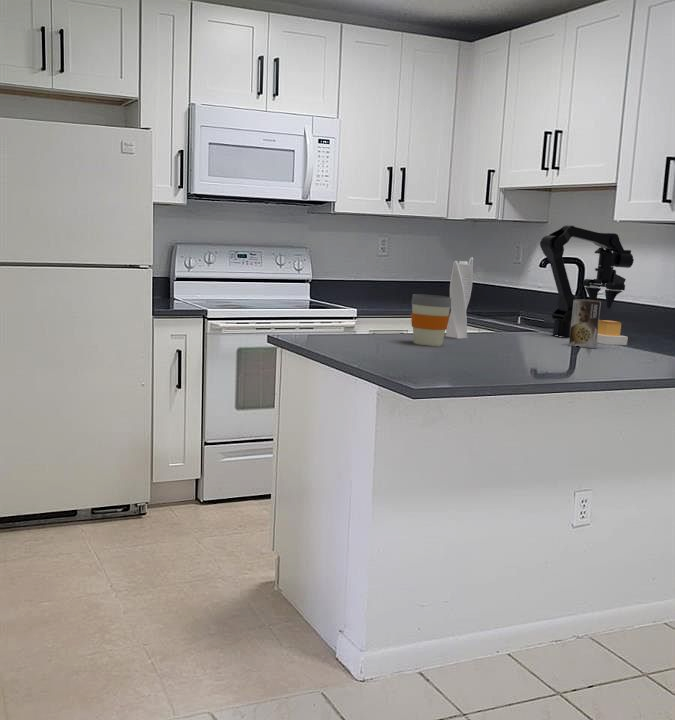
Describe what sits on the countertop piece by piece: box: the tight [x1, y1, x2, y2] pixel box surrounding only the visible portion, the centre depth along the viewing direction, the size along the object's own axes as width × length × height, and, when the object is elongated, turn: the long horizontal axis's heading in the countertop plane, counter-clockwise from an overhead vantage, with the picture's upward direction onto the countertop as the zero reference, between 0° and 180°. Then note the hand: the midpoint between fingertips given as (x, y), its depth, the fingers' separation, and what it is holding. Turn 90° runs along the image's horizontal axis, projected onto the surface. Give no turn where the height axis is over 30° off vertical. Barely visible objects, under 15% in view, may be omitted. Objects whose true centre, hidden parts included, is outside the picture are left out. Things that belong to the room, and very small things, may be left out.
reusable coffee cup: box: [410, 293, 451, 347], centre depth 268 cm, size 13×12×15 cm
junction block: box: [597, 334, 629, 346], centre depth 314 cm, size 10×10×7 cm
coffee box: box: [568, 298, 602, 349], centre depth 295 cm, size 9×6×16 cm
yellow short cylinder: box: [598, 319, 622, 336], centre depth 314 cm, size 6×6×5 cm
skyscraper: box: [444, 256, 474, 340], centre depth 292 cm, size 8×8×28 cm
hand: (600, 307), depth 328 cm, fingers open, 9 cm apart
